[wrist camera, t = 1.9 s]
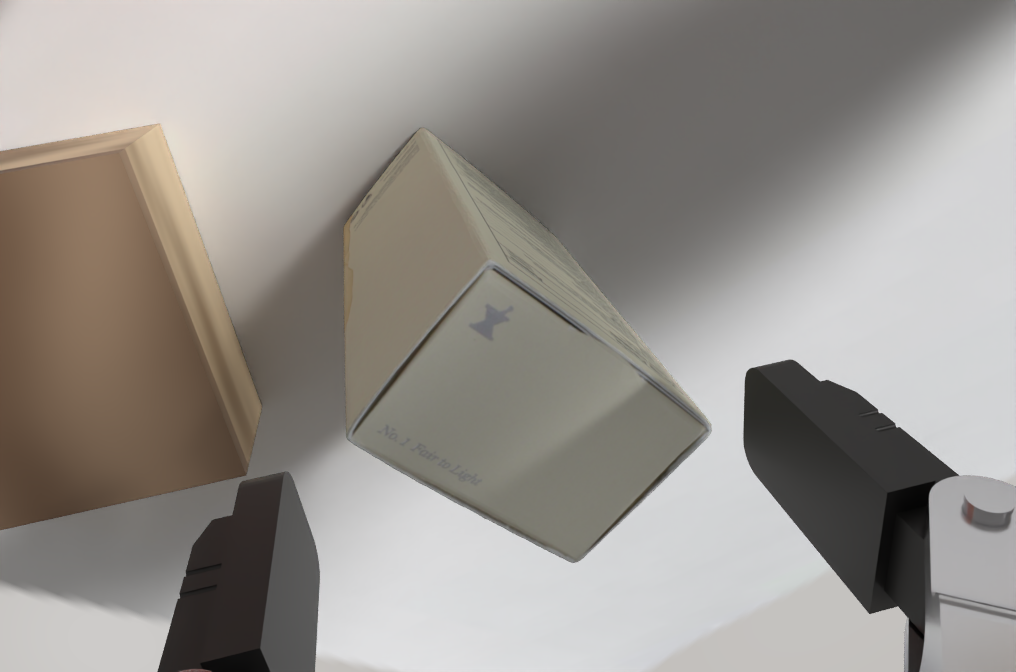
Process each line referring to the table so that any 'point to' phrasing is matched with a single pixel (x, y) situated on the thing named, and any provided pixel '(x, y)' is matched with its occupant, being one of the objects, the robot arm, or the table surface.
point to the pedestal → (111, 333)
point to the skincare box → (499, 360)
